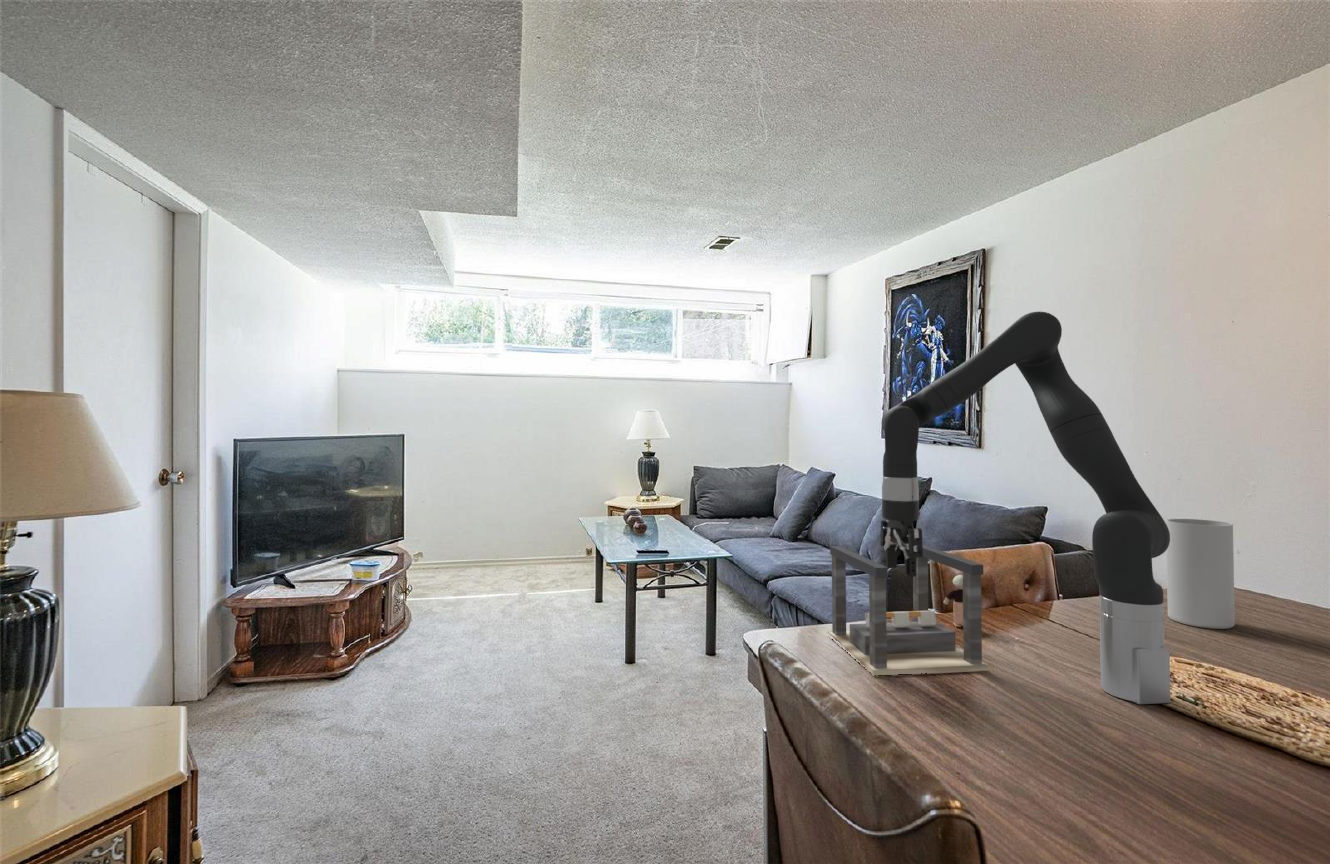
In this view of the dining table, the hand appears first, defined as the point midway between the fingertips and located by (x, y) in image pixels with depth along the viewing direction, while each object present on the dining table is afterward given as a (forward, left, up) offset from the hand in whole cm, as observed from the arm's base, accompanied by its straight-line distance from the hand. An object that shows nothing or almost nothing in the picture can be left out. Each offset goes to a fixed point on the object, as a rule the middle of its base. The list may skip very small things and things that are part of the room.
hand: (900, 571), depth 131 cm
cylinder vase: (+11, -84, -18) cm, 86 cm away
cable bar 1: (0, +10, +2) cm, 10 cm away
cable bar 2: (0, -10, +2) cm, 10 cm away
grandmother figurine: (+15, -23, -18) cm, 33 cm away
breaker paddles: (0, 0, -12) cm, 12 cm away
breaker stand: (0, 0, -17) cm, 17 cm away
